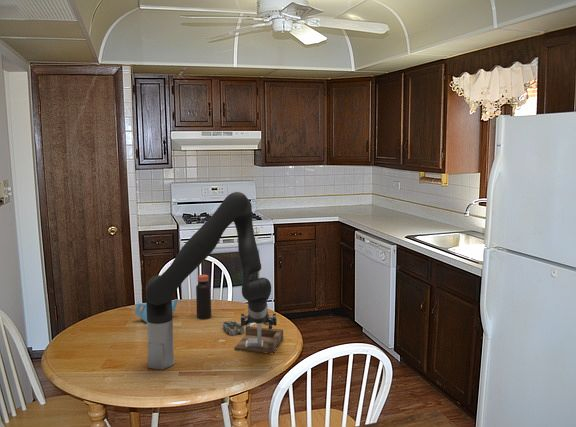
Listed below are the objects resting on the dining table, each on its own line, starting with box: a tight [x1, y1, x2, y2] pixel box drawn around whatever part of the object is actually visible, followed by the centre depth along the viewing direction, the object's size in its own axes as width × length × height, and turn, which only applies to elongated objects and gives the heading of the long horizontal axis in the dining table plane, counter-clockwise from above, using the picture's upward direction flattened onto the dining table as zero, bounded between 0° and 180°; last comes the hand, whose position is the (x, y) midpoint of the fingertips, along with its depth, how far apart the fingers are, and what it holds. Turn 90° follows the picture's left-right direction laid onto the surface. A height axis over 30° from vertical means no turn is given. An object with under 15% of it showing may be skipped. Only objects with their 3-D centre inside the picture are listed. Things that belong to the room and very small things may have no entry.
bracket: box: [247, 323, 262, 347], centre depth 209 cm, size 6×5×10 cm
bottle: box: [195, 274, 212, 320], centre depth 244 cm, size 7×7×20 cm
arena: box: [233, 326, 284, 354], centre depth 213 cm, size 16×16×4 cm
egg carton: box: [221, 320, 246, 336], centre depth 228 cm, size 11×8×4 cm
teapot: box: [134, 298, 179, 324], centre depth 242 cm, size 15×15×11 cm
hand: (259, 327), depth 211 cm, fingers open, 8 cm apart
